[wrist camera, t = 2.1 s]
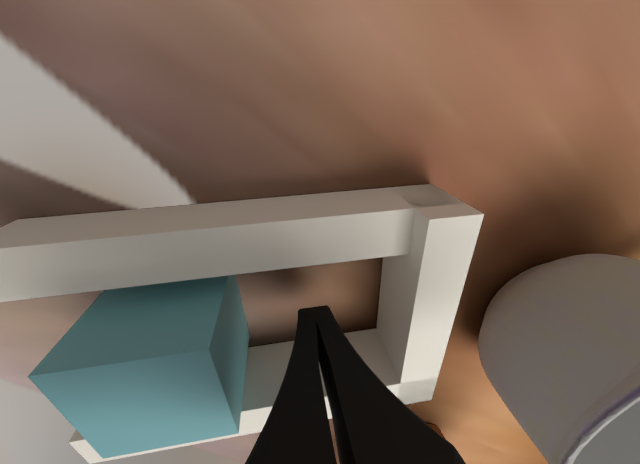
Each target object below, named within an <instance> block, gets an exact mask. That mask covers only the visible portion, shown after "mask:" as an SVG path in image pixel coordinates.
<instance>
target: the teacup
mask: <svg viewBox="0 0 640 464" xmlns="http://www.w3.org/2000/svg"><path fill="white" fill-rule="evenodd" d="M478 350H479V356H480V360H481V364H482V366H483V368H484V371H485V373H486V375H487V377H488V379H489V380H490V382H491V384H492V385H493V387H494V388H495V390H496V391H497V393H498V394H499V396H500V397H501V399H502V400H503V401H504V403H505V404H506V406H507V407H508V409H509V410H510V412H511V413H512V414H513V416H514V417H515V418H516V420H517V421H518V423H519V424H520V425H521V427H522V428H523V429H524V431H525V432H526V433H527V435H528V436H529V437H530V439H531V440H532V441H533V443H534V444H535V445H536V447H537V448H538V449H539V451H540V452H541V453H542V455H543V456H544V457H545V459H546V460H547V461H548V463H549V464H640V261H639V260H636V259H632V258H628V257H623V256H618V255H610V254H582V255H574V256H570V257H565V258H561V259H558V260H555V261H552V262H548V263H544V264H540V265H538V266H535V267H532V268H530V269H528V270H526V271H524V272H522V273H520V274H519V275H517V276H516V277H514V278H513V279H511V280H510V281H508V282H507V283H506V284H505V285H504V286H503V287H502V288H501V289H500V290H499V291H498V292H497V293H496V294H495V296H494V297H493V299H492V300H491V302H490V304H489V306H488V308H487V310H486V312H485V315H484V320H483V323H482V326H481V329H480V333H479V339H478Z"/></svg>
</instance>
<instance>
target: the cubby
mask: <svg viewBox="0 0 640 464" xmlns="http://www.w3.org/2000/svg"><path fill="white" fill-rule="evenodd" d="M483 217H484V214H483V213H482V212H480V211H478V210H476V209H475V208H473V207H471V206H469V205H467V204H466V203H464V202H462V201H460V200H459V199H457V198H455V197H453V196H452V195H450V194H448V193H446V192H444V191H443V190H441V189H439V188H437V187H436V186H434V185H432V184H423V185H412V186H400V187H388V188H377V189H365V190H353V191H342V192H330V193H319V194H307V195H295V196H284V197H272V198H261V199H249V200H237V201H226V202H214V203H202V204H191V205H179V206H168V207H157V208H144V209H133V210H121V211H110V212H98V213H86V214H75V215H63V216H51V217H40V218H28V219H17V220H15V221H13V222H11V223H9V224H7V225H5V226H3V227H1V228H0V302H7V301H15V300H24V299H32V298H41V297H49V296H58V295H66V294H75V293H83V292H92V291H100V290H109V289H117V288H126V287H134V286H143V285H151V284H159V283H168V282H176V281H185V280H193V279H202V278H210V277H219V276H227V275H236V274H244V273H253V272H261V271H270V270H278V269H287V268H295V267H304V266H312V265H321V264H329V263H338V262H346V261H355V260H363V259H372V258H380V257H383V262H382V273H381V283H380V294H379V305H378V316H377V327H376V328H375V329H368V330H362V331H355V332H348V333H344V335H345V336H346V337H347V339H348V340H349V342H350V343H351V345H352V346H353V347H354V349H355V350H356V352H357V353H358V354H359V355H360V357H361V358H362V359H363V361H364V362H365V363H366V364H367V365H368V367H369V368H370V369H371V370H372V371H373V372H374V374H375V375H376V376H377V377H378V378H379V379H380V380H381V381H382V382H383V383H384V384H385V386H386V387H387V388H388V389H389V390H390V391H391V392H392V393H393V394H394V395H395V396H396V397H397V398H399V399H400V400H401V401H402V402H403V403H404V404H405V405H406V404H412V403H417V402H422V401H428V400H432V396H433V393H434V389H435V386H436V382H437V379H438V375H439V372H440V368H441V365H442V361H443V357H444V354H445V350H446V347H447V343H448V340H449V336H450V333H451V329H452V326H453V322H454V319H455V315H456V312H457V308H458V305H459V301H460V298H461V294H462V291H463V287H464V284H465V280H466V277H467V273H468V270H469V266H470V263H471V259H472V256H473V252H474V249H475V245H476V242H477V238H478V234H479V231H480V227H481V224H482V220H483ZM293 344H294V341H288V342H282V343H275V344H268V345H262V346H255V347H248V353H247V362H246V371H245V380H244V389H243V398H242V407H241V416H240V425H239V433H238V434H233V435H227V436H222V437H217V438H211V439H206V440H201V441H195V442H190V443H184V444H179V445H174V446H168V447H163V448H158V449H152V450H147V451H142V452H136V453H131V454H126V455H120V456H115V457H110V458H104V459H103V458H102V457H101V456H100V455H99V454H98V453H97V452H96V451H95V450H94V448H93V447H92V446H91V445H90V444H89V443H88V442H87V441H86V440H85V439H84V438H83V436H82V435H81V434H80V433H79V432H78V431H77V430H76V431H75V433H74V434H73V436H72V438H71V439H70V441H69V443H70V444H71V445H72V446H73V447H74V448H75V449H76V450H77V452H79V453H80V454H81V456H82V457H83V458H84V459H85V460H86V461H87V462H88V463H89V464H91V463H97V462H102V461H108V460H113V459H118V458H123V457H128V456H134V455H140V454H145V453H150V452H156V451H161V450H166V449H172V448H176V447H182V446H188V445H193V444H198V443H204V442H209V441H214V440H220V439H225V438H230V437H236V436H241V435H246V434H252V433H257V432H261V431H262V429H263V427H264V425H265V423H266V421H267V418H268V416H269V414H270V412H271V409H272V407H273V404H274V402H275V400H276V397H277V395H278V392H279V390H280V387H281V384H282V381H283V379H284V376H285V373H286V370H287V366H288V363H289V360H290V356H291V353H292V349H293ZM319 368H320V364H319ZM320 375H321V381H322V387H323V392H324V398H325V404H326V409H327V415H328V419H332V414H331V410H330V406H329V401H328V397H327V393H326V389H325V385H324V381H323V377H322V372H321V368H320Z"/></svg>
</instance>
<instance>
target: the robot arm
mask: <svg viewBox="0 0 640 464" xmlns="http://www.w3.org/2000/svg"><path fill="white" fill-rule="evenodd" d="M319 364H320V368H321V372H322V377H323V381H324V385H325V389H326V393H327V397H328V401H329V406H330V410H331V414H332V419H333V424H334V430H335V436H336V443H337V449H338V455H339V462H340V464H465V462H464V460H463V459H462V457H461V456H460V454H459V453H458V451H457V450H456V448H455V447H454V446H453V445H452V444H451V443H449V442H448V441H447V440H446V439H444V438H443V437H442V436H440V435H439V434H438V433H437V432H436V431H434V430H433V429H432V428H431V427H430V426H428V425H427V424H426V423H425V422H424V421H422V420H421V419H420V418H419V417H418V416H417V415H416V414H414V413H413V412H412V411H411V410H410V409H409V408H408V407H407V406H406V405H405V404H404V403H403V402H402V401H401V400H400V399H399V398H397V397H396V396H395V395H394V394H393V393H392V392H391V391H390V390H389V389H388V388H387V387H386V386H385V384H384V383H383V382H382V381H381V380H380V379H379V378H378V377H377V376H376V375H375V374H374V372H373V371H372V370H371V369H370V368H369V367H368V365H367V364H366V363H365V362H364V361H363V359H362V358H361V357H360V355H359V354H358V353H357V352H356V350H355V349H354V347H353V346H352V345H351V343H350V342H349V340H348V339H347V337H346V336H345V335H344V333H343V331H342V330H341V328H340V327H339V325H338V323H337V322H336V320H335V318H334V316H333V314H332V312H331V310H330V308H329V307H328V306H327V305H326V306H319V307H311V308H304V309H300V310H299V311H298V323H297V330H296V336H295V340H294V344H293V349H292V353H291V356H290V360H289V363H288V366H287V370H286V373H285V376H284V379H283V381H282V384H281V387H280V390H279V392H278V395H277V397H276V400H275V402H274V404H273V407H272V409H271V412H270V414H269V416H268V418H267V421H266V423H265V425H264V427H263V429H262V431H261V433H260V435H259V437H258V439H257V441H256V443H255V445H254V447H253V450H252V451H251V453H250V455H249V457H248V459H247V461H246V463H245V464H337V463H336V458H335V452H334V447H333V442H332V437H331V431H330V426H329V420H328V415H327V409H326V404H325V398H324V392H323V387H322V381H321V375H320V368H319Z"/></svg>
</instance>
